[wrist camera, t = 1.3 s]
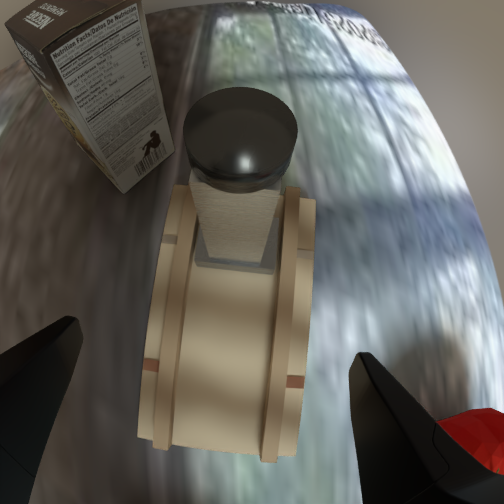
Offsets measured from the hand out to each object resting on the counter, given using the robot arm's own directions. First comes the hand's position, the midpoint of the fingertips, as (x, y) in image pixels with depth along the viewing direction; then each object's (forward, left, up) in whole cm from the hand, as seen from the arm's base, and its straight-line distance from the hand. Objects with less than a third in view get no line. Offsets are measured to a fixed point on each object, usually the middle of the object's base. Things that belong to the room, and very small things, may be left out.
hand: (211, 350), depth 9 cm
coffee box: (+20, 0, -13) cm, 24 cm away
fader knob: (+6, -4, -11) cm, 14 cm away
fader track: (+2, -1, -13) cm, 13 cm away
